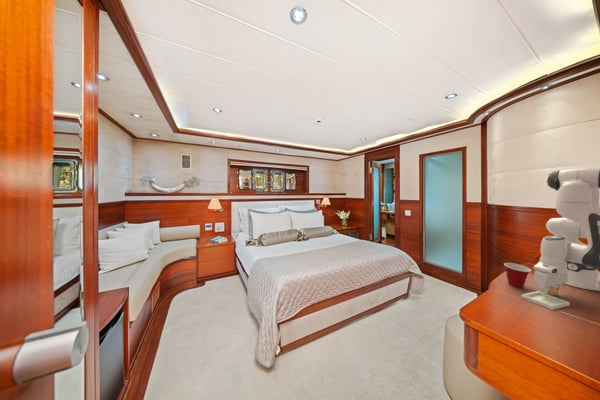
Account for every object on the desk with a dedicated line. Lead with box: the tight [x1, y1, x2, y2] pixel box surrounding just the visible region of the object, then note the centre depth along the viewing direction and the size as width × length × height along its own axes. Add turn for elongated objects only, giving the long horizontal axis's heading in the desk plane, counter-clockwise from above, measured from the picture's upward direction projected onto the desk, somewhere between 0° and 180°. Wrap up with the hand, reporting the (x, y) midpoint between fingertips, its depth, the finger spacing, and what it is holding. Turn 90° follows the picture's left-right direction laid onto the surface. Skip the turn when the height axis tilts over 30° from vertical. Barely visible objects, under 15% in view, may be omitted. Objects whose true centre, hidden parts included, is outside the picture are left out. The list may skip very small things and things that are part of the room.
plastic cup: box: [503, 262, 532, 289], centre depth 116 cm, size 11×11×12 cm
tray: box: [520, 290, 571, 311], centre depth 100 cm, size 13×11×2 cm
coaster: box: [541, 291, 566, 300], centre depth 106 cm, size 7×7×1 cm
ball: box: [548, 285, 560, 296], centre depth 106 cm, size 5×5×5 cm
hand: (551, 292), depth 105 cm, fingers open, 7 cm apart
